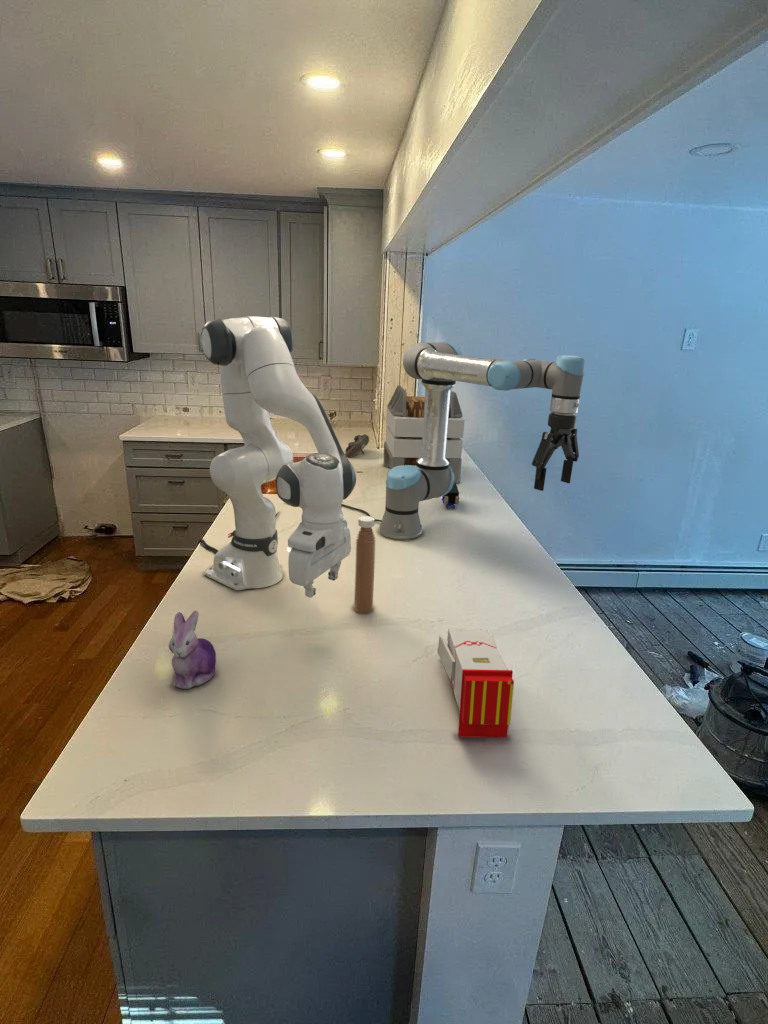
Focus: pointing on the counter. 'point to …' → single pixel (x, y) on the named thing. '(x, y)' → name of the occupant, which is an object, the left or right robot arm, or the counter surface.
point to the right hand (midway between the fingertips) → (552, 485)
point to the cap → (366, 521)
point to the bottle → (364, 570)
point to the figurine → (191, 653)
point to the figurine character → (451, 497)
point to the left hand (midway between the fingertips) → (322, 587)
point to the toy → (478, 682)
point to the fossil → (357, 445)
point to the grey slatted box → (419, 431)
